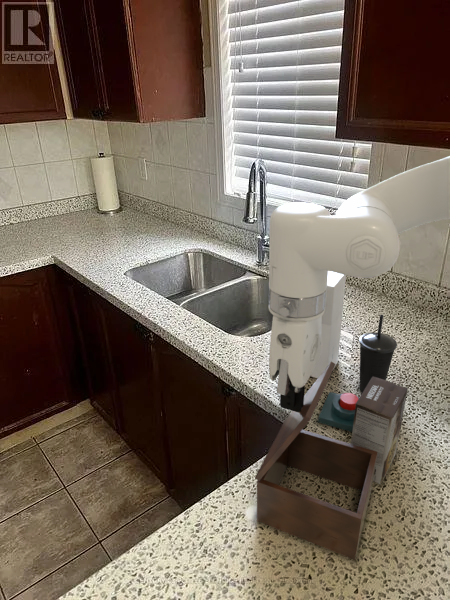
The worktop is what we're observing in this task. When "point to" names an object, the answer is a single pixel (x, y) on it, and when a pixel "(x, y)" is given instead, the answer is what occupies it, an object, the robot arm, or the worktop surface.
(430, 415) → the worktop surface
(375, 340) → the drinking cup
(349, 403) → the button
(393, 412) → the coffee box
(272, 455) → the lid
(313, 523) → the chest
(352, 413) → the red push button base
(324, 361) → the tall white carton
